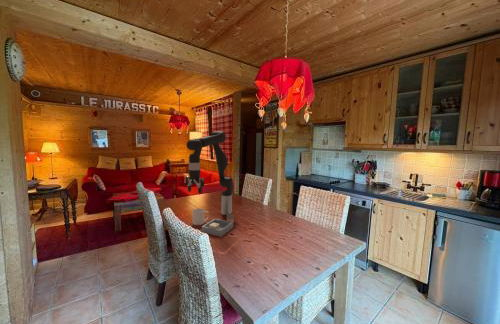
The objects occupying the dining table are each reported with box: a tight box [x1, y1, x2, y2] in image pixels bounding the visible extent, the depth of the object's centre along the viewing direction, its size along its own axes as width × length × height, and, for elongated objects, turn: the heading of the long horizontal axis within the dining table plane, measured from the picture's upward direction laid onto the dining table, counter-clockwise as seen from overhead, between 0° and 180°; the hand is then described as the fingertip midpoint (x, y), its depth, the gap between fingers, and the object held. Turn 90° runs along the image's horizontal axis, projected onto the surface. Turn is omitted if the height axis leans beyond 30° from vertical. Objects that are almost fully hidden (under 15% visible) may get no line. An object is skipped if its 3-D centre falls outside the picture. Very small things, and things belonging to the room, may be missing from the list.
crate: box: [201, 218, 234, 237], centre depth 149 cm, size 17×16×5 cm
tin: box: [226, 213, 235, 225], centre depth 159 cm, size 5×5×8 cm
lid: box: [209, 223, 220, 227], centre depth 144 cm, size 5×5×1 cm
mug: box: [192, 208, 209, 226], centre depth 161 cm, size 12×9×11 cm
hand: (194, 192), depth 142 cm, fingers open, 8 cm apart
